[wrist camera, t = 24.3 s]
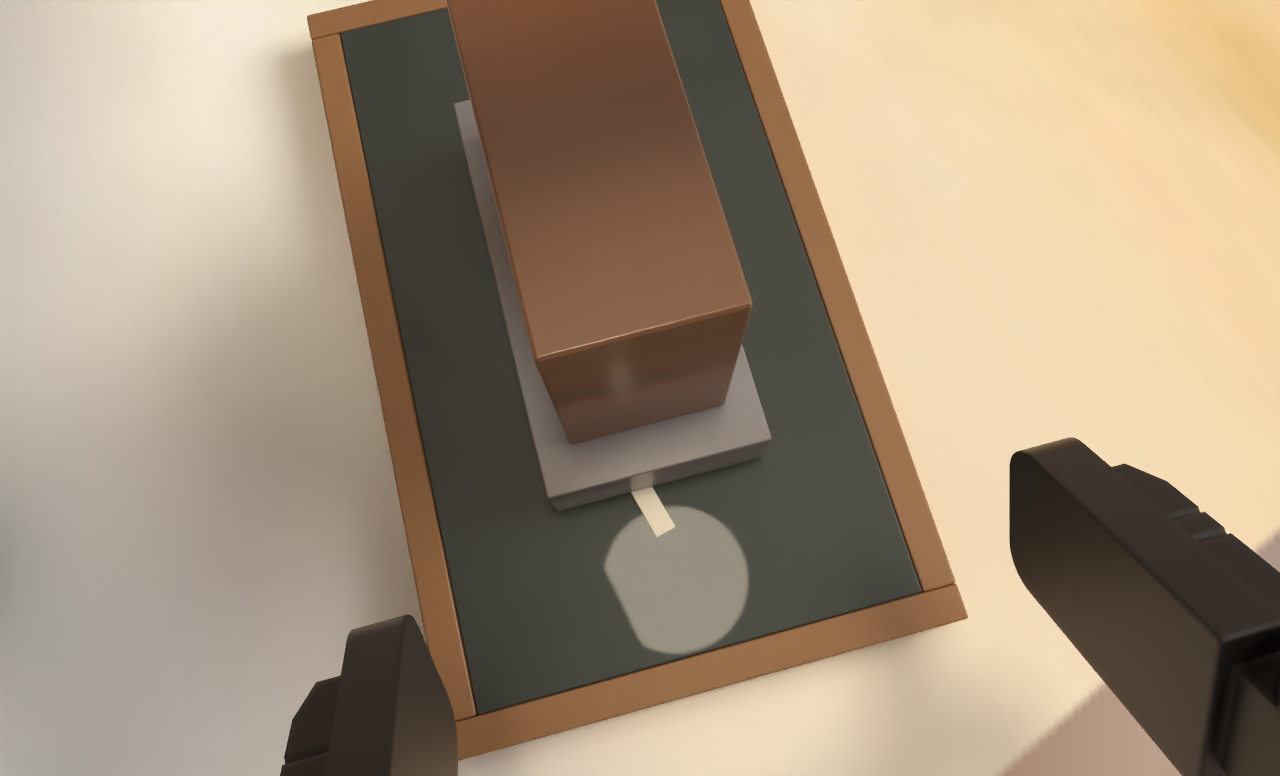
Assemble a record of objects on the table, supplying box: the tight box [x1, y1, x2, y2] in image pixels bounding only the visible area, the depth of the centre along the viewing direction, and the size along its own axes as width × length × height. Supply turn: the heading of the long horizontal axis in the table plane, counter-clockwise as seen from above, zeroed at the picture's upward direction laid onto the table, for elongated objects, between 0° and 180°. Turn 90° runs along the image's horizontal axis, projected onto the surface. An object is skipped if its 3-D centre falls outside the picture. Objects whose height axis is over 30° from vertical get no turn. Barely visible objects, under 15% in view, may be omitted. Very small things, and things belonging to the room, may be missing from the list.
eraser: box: [446, 0, 771, 511], centre depth 19 cm, size 10×5×8 cm, turn 15°
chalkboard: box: [307, 0, 968, 761], centre depth 23 cm, size 12×20×1 cm, turn 15°
